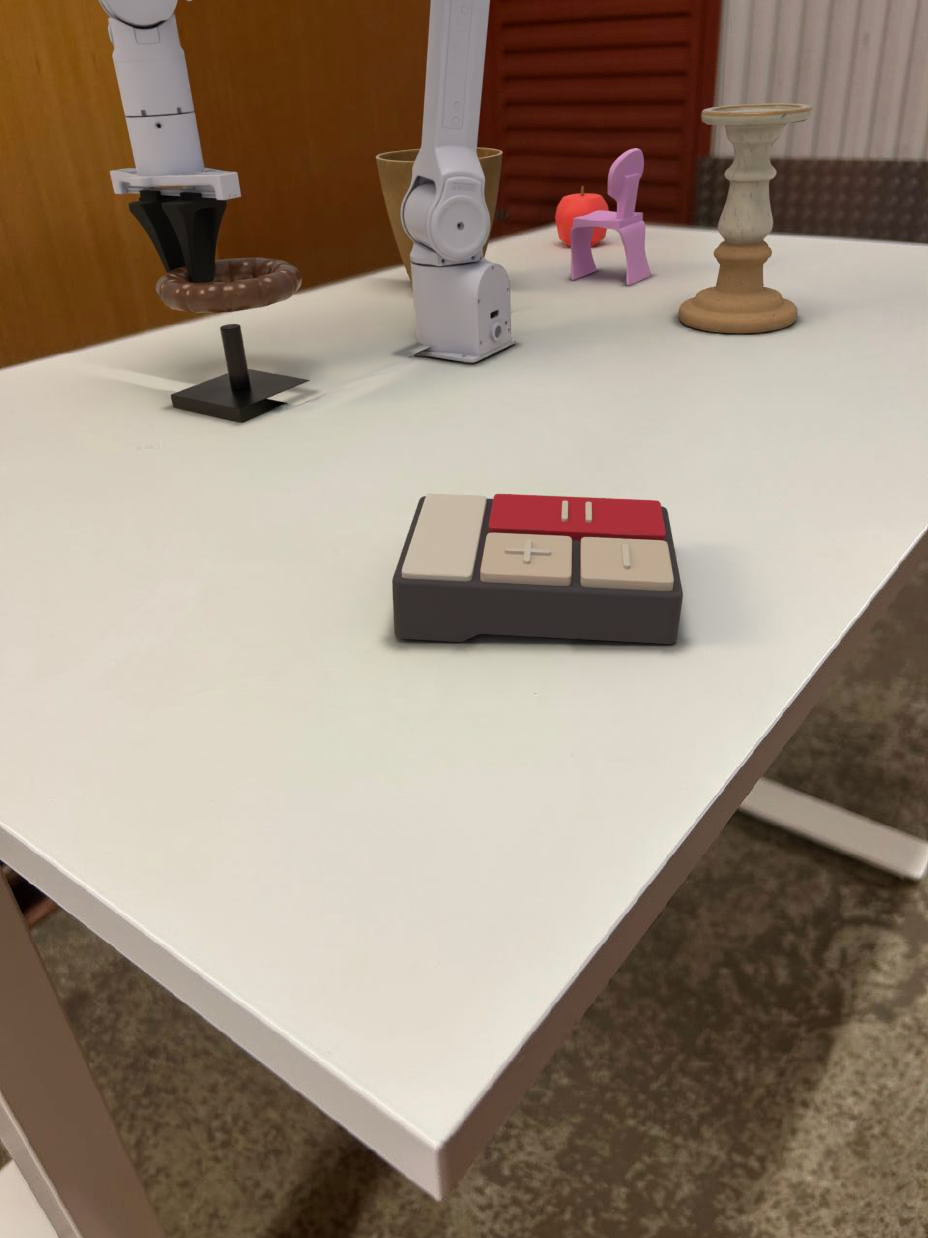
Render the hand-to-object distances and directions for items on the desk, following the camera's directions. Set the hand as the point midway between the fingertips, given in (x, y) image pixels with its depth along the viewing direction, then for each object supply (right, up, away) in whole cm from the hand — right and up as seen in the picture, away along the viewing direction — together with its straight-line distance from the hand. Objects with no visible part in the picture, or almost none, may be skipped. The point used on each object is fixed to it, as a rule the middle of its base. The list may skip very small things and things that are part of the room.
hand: (192, 281), depth 88 cm
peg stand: (+5, -11, +1) cm, 12 cm away
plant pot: (+23, +10, +33) cm, 41 cm away
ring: (+4, -1, -3) cm, 5 cm away
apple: (+43, +25, +55) cm, 74 cm away
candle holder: (+54, +1, +15) cm, 56 cm away
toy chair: (+44, +13, +36) cm, 58 cm away
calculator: (+29, -30, -32) cm, 53 cm away
